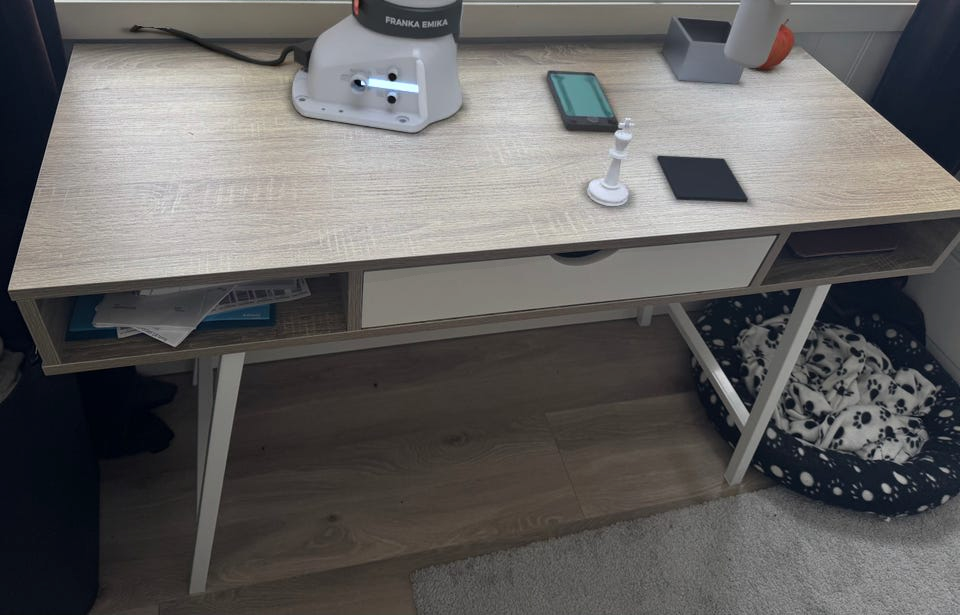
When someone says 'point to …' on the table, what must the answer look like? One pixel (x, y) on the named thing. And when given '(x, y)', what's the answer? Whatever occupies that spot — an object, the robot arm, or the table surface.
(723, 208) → the table surface
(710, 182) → the mat
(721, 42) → the holder
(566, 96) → the smartphone
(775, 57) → the apple
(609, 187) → the chess piece
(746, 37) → the beverage can
